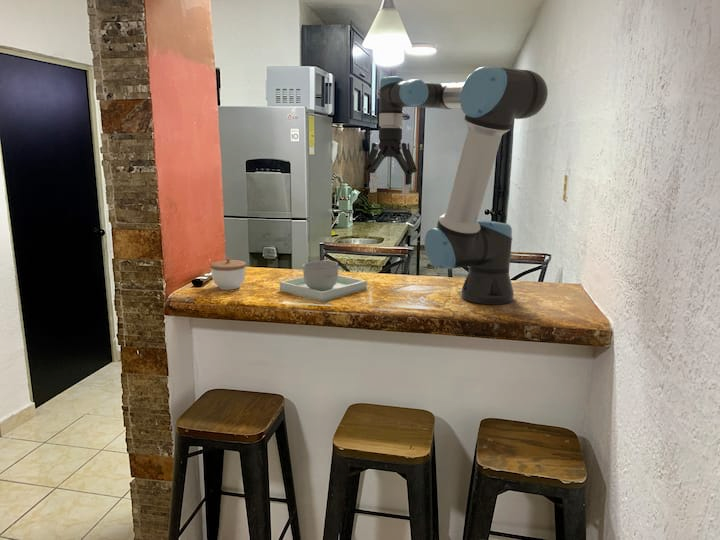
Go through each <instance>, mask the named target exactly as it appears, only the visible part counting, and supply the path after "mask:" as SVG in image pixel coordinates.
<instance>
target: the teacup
mask: <svg viewBox="0 0 720 540" xmlns="http://www.w3.org/2000/svg"><path fill="white" fill-rule="evenodd" d="M338 265H339V263H338V262H337V261H334V260H328V259H323V260H314V261H309V262H305V263H303V264H302V270H303V276H304V281H305V284H306V285H307V286H308V287H310V289H314V290H318V291H323V290H329V289H331V288H333V286H334V285H335V284H336V283H337V281H338V275H339V268H338Z"/></svg>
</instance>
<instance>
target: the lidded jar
mask: <svg viewBox="0 0 720 540" xmlns="http://www.w3.org/2000/svg"><path fill="white" fill-rule="evenodd" d="M246 264H247V263H246V261H243V260H238V259H237V260H236V259H230V258H229V257H226V259H225V260H217V261H213V262H211V263H210V270H211V271H210V273H211V277H212V280H213V283H214V284H215V285H216V286H217V287H219V289H220V290H223V291H229V290H231V291H232V290H237V289H239V288H240V286H241V285H242V284H243V282H244V281H245V279H246V273H247V272H246V271H247V270H246V268H247V267H246V266H247V265H246Z"/></svg>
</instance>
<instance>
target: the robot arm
mask: <svg viewBox="0 0 720 540" xmlns="http://www.w3.org/2000/svg"><path fill="white" fill-rule="evenodd" d="M378 91H379V99H378V101H379V105H378V106H379V108H378V109H379V112H378V113H379V116H378V126H379V127H380V128H379V129H378V139H379V142H372V143H371V148H370V149H371V150H370V152H369V154H368V157H367V159H366V161H365V164H364V167H363V170H364V172H365V171H366V172H368V182H369V193H377V192H378V172H377V169H378V168H379V167H380V165H381V164H382V163H383V161H384V159H386V158H394V159H395V160H396V161H397V163H398V165H399V166H400V168H401V170H402V171H403V174H402V189H401V192H402V193H401V195H402V196H407V195H408V196H410V195H409V194H410V185H411V184H412V175H413V174H414V173H417V172H418V169H417V167H416V163H415V161H414V158H413V154H412V152H411V150H410V149H411V147H410V143H409V142H402V139H403V129H402V128H401V127H403V111H404V108H409V107H410V108H424V109H425V108H429V109H443V110H453V109H454V110H461V111H462V112H463V113H464V114H465V116H464V119H463V120H464V122H465V124H466V125H467V127H468V128H467V132H466V135H465V140H464V143H463V146H462V150H461V151H462V152H461V153H460V159H459V162H458V166H457V169H456V174H455V178H454V182H453V186H452V189H451V192H450V196H449V199H448V200H449V202H448V204H447V208H446V211H445V213H443V214H441V215H439V217H438V221H437V224H436V227H431V228H429V230H427V232H426V234H425V236H424V244H423V245H424V250H425V253H426V257H427V259H428V260H429V262H430V264H431V265H432V266H433V267H435V268H437V269H439V270H454V269H458V268H459V269H460V268H468V273H467V275H466V277H465V280H464V282H463V285H462V287H461V295H460V296H461V298H462V299H463V300H465V301H467V302H468V301H469V302H470V303H474V304H480V305H496V306H497V305H504V304H505V305H506V304H510V303H512V302H514V295H515V294H514V289H513V285H512V284H513V283H512V280H511V277H510V263H511V253H512V241H513V236H512V233H513V231H512V230H513V229H512V226H511V225H510V224H509V223H504V222H500V221H499V222H498V221H492V220H487V219H486V220H485V219H478V218H479V216H480V215H479V214H480V212H481V208H482V205H483V202H484V198H485V195H486V191H487V188H488V184H489V181H490V177H491V175H492V171H493V166H494V164H495V160H496V157H497V154H498V151H499V148H500V147H499V146H500V144H501V140H502V136H503V135H504V134H506V133H507V132H509V131H510V130H511V129H512V125H513V123H514V122H513V121H514V120H516V119H517V120H521V119H529V118H531V117H533V116H535V115H537V114H539V112H540V111H541V110H542V109H543V108H544V106H545V105H546V102H547V100H548V96H549V94H548V93H549V92H548V85H547V83H546V81H545V79H544V78H543V77H542V76H541V75H540V74H539V73H537V72H535V71H532V70H529V69H520V68H511V67H502V66H496V65H493V66H481V67H478V68H475V70H474V71H472V72H471V73H470V74H469V75H468V76H467V78H465V80H464V82H457V83H456V82H450V83H449V82H446V83H444V82H442V83H441V82H429V81H423V80H422V79H414V78H413V79H408V80H405V81H404V78H403V77H401V76H392V75H391V76H384V77H382V78H380V81H379V90H378ZM401 150H402V152H401Z"/></svg>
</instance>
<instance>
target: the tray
mask: <svg viewBox="0 0 720 540" xmlns="http://www.w3.org/2000/svg"><path fill="white" fill-rule="evenodd" d="M367 283H368V281H367V280H364V279H360V278H355V277H352V276H346V275H342V274H338V281H337V283H336V284H335V285H334V286H333V288H331V289H329V290H323V291H318V290H314V289H310V287H308V286H307V285H306V284H305V281H304V275H303V276H300V277H295V278H291V279H287V280H282V281H279V291H280V290H281V291H280V292H283V291H284V292H283V293H287V292H288V293H287V294H290V293H292V294H291V295H294V294H296V295H295V296H298V295H299V297H302V296H303V298H305V297H307V298H306V299H309V298H310V300H313V299H314V300H313V301H316V300H317V302H320V303H324V302H327V301H331V299H332V300H335V299H338V297H339V298H342V297H345V295H346V296H348V294H349V295H352V294H351V293H353V294H356V293H360V292H362V291H366V290H367ZM355 292H356V293H355ZM334 298H335V299H334Z"/></svg>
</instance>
